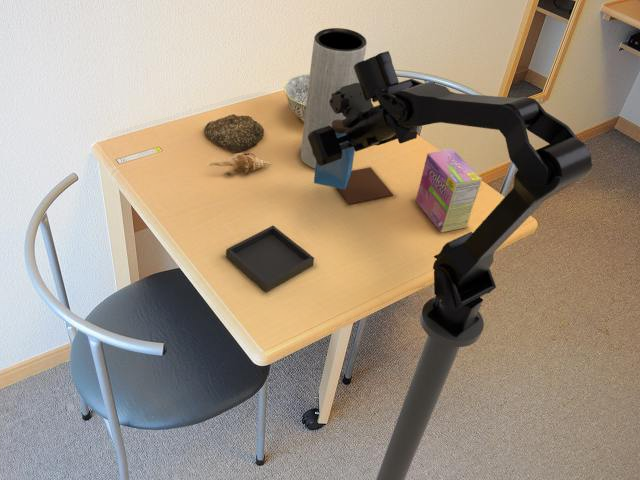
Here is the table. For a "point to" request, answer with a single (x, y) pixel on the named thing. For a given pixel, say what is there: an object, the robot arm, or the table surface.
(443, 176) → the box
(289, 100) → the bowl
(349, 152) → the perfume bottle
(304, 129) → the planter
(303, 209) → the table surface
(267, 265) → the tray
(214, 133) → the bread roll
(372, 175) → the mat
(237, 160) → the spiral seashell
